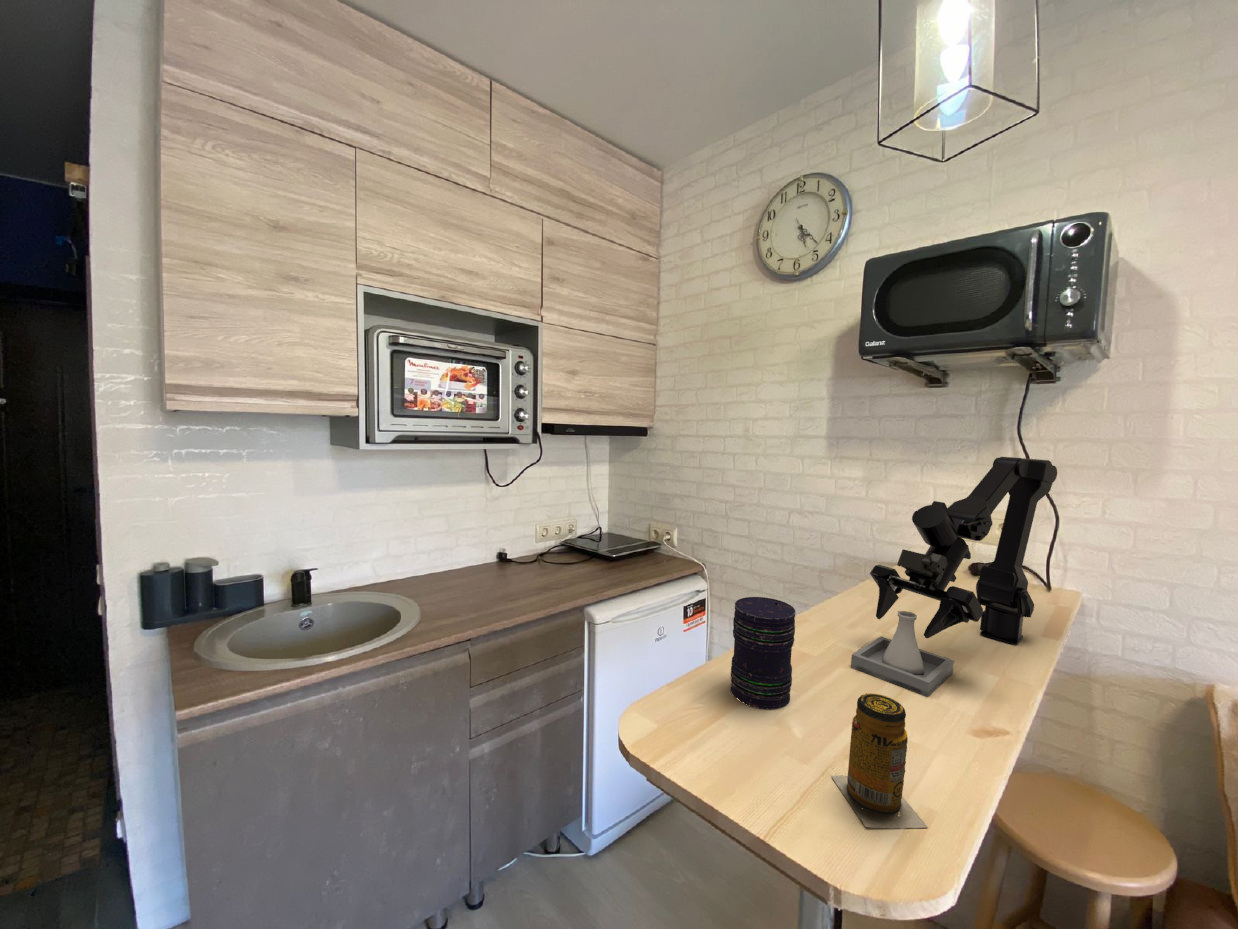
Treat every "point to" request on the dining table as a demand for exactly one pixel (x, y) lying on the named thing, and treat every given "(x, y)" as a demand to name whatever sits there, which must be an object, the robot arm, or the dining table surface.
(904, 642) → the flask
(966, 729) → the dining table surface
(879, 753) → the condiment
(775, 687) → the storage jar
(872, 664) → the tray
